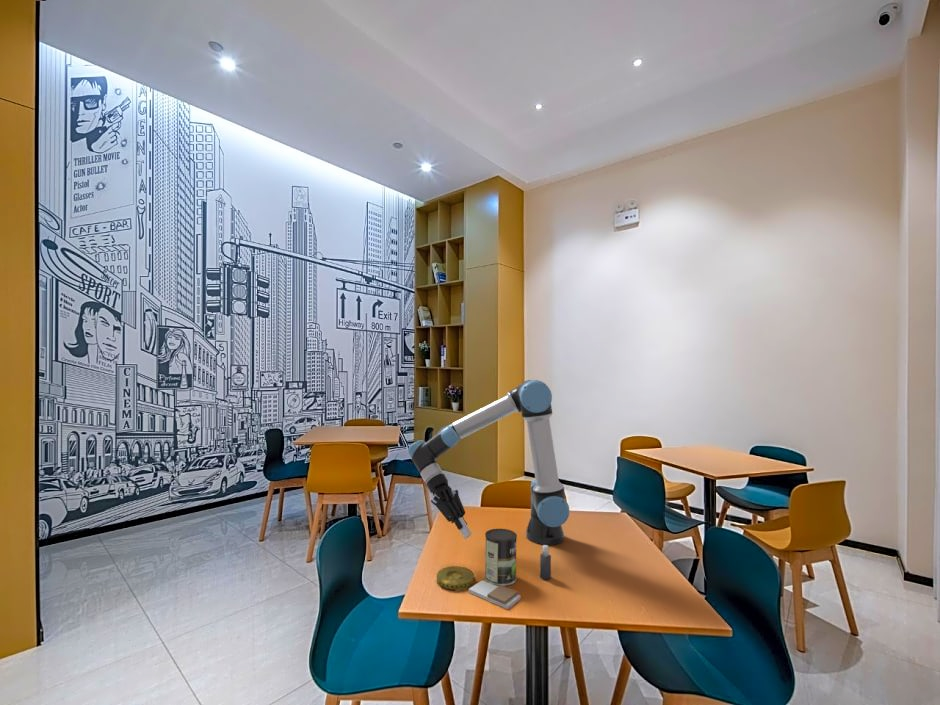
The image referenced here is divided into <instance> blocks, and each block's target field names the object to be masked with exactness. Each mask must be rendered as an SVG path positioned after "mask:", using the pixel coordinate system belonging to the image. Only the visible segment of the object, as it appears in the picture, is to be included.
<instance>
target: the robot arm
mask: <svg viewBox="0 0 940 705" xmlns="http://www.w3.org/2000/svg"><path fill="white" fill-rule="evenodd" d="M552 400H553V394H552V391H551V389H550V387H549V386H548V385H547V383H545V382H543V381H541V380H538V379H529V380H525V381H523V382H521V383H520V384H519V385H518V386H516V387H514V388H513V389H511V390H509V391H507V392H506V395H505V396H502V397H501V398H499V399H497V400H495V401H493V402H491V403H489V404H487V405H485V406H483V407H481V408H479V409H477V410H475V411H473V412H471V413H469V414H467V415H465V416H463V417H461V418H460V419H457V420H455V421H453V422H452V423H449V424H447V425H445V426H442V427H441V428H439V429H438V431H437V432H436V434H435V435H434V436H432V437H431V438H430V439H428V440H427V441H424V440H422V439H420V440H419V439H418V440H416V441H414V442H413V443H412V444H411V445H410V446H409V447H408V451H407V452H408V454H409V457H410V458H411V461H412V462H413V464H414V466H415V467H416V469H417V471H418V472H419V474H420V476H421V478H422V479H423V481H424V483H425V484H426V487H427V489H428V491H429V492H430V493H431V494H432V496H433V497H432V498H431V500H430V503H431V504H433V505H434V506H435V507H436V508H437V510H439V512H440V514H442V516H443V517H444V518H445V520H447V522H449V523H451V524H455V527H456V528H457V530H459V532H460V533H461V535H462V537H463V538H464V539H463V540H466V539H468V538H469V537H470V536H471V535H473V534H472V532H471V530H470V528H469V526H468V523H467V521H466V520H465V518H464V516H465V514H466V511H465V510H466V509H465V507H464V505H463V503H462V500H461V498H460V495H459V490H458V489H455V490H453V489H452V488H451V487H450V485H449V479H448V478H447V477H446V475H445V474H444V472H443V470H442V469H441V467H440V465H439V464H438V462H437V459H438V458H439V457H440V456H442V455H444V454H445V453H447V451H450V449H452V448H453V447H455V446H456V445H457V444H458V443H459V442H460V440H461V439H464V438H465V437H468V436H470V435H472V434H474V433H475V432H477V431H480V430H482V429H484V428H486V427H487V426H490V425H491V424H493V423H496V422H497V421H499V420H501V419H504V418H505V417H507V416H509V415H512V414H514V413H517V414H519V413H521V418H522V419H523V420H525V421H526V425H527V432H528V438H529V445H530V451H531V457H532V458H531V459H532V466H533V470H534V478H535V479H534V480H532V481H531V483H530V518H529V521H528V525H527V527H526V531H525V532H526V533H525V536H526V537H525V538H526V539H527V540H529V541H531V542H533V543H536V544H540V545H548V546H549V545H550V546H551V545H558V544H561V543H562V542H563V541H564V539H565V535H564V530H563V525H564V524H565V523H566V522H567V521H568V519H569V517H570V505H569V502H568V501H567V499H566V498H567V497H566V492H565V487H564V484H563V483H561V482H560V480H559V474H558V467H557V460H556V454H555V446H554V442H553V435H552V427H551V423H550V422H551V421H550V418H551V416H552V415H553V408H552Z"/></svg>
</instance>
